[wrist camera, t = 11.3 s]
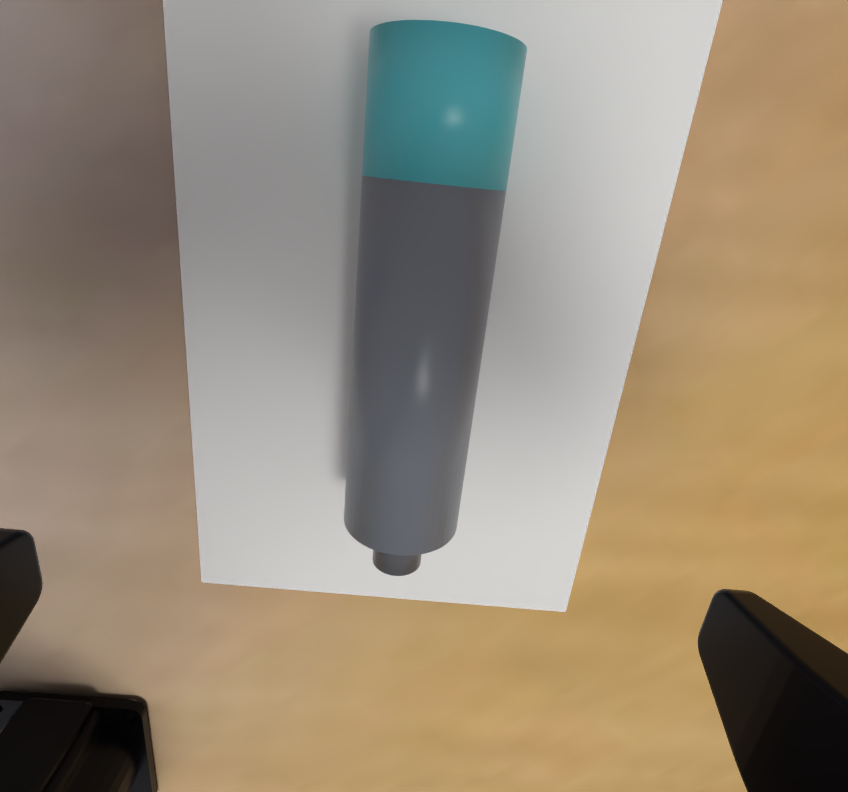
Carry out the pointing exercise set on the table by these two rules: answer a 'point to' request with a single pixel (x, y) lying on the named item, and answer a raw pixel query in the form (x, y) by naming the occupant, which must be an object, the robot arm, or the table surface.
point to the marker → (424, 275)
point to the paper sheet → (337, 273)
